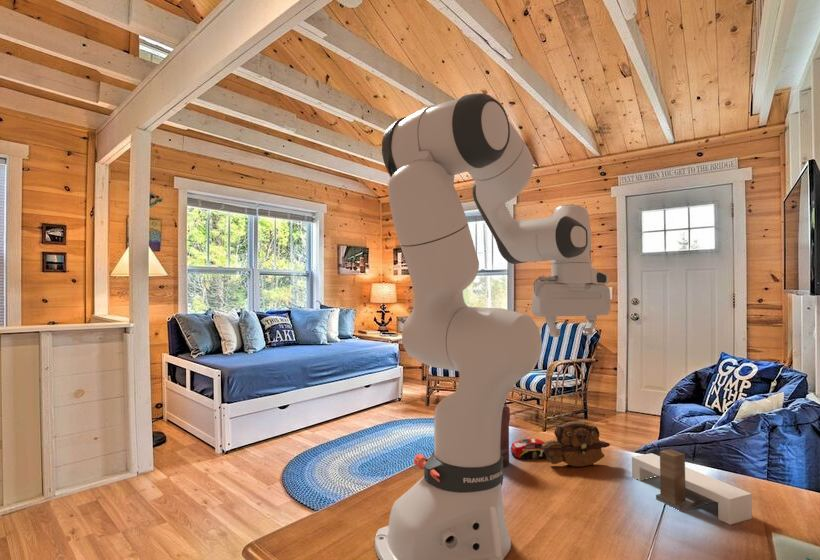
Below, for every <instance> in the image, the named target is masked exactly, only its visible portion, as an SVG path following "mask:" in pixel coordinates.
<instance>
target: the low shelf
mask: <svg viewBox="0 0 820 560" xmlns="http://www.w3.org/2000/svg"><path fill="white" fill-rule="evenodd" d="M631 474H632V475H631V478H633V477H634V478H633V479H635V478H636V479H635V480H637V479H638V480H637V481H639V480H641V481H643V480H642V479H646V478H650V477H654V476H660V455H657V454H654V453H652V452H650V453H645V454H640V455H635V456H631ZM646 480H647V479H646ZM685 488H687V489H689V490H691V491H694V492H696V493H698V494H700V495H702V496H705V497H707V498H709V499H711V500H714V501H715V502H716V503H717V507H718V510H717V511H718V517H717V518H718V520H719V521H721V522H722V523H723V522H724V523H726V524H728V525H735V524H738V523H741V522H744V521H748V520H752V519H753V514H752V513H753V509H752V508H753V505H752V502H753V501H752V499H753V498H752V493H751V492H748V491H747V490H743V489H741V488H739V487H736V486H734V485H731V484H729V483H726V482H724V481H721V480H719V479H717V478H714V477H712V476H709V475H707V474H704V473H701V472H699V471H697V470H694V469H692V468H689V467H687V466H685Z"/></svg>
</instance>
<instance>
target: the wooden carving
mask: <svg viewBox="0 0 820 560" xmlns="http://www.w3.org/2000/svg"><path fill="white" fill-rule="evenodd" d="M598 428H599V427H597V426H595V425H593V424H586V423H583V422H582V421H576V420H575V421H568V422H564V423H563V424H562V425H559V424H557V425H556V426H555V428H554V432H553V433H554V436H555V437H556V440H549V441H545V442H546V443H544V444H543V445H542V449H543V450H544V453H545V454H546V458H545V459H546V461H547V463H549V464H550V463H551V464H552V465H557V464H560V463H562V462H563V463H565V464H567V465H569V466H572V467H587V466H590V465H591V466H592V465H593V464H595V463H597V462H599V461H600V460H602V459H603V458H604V457H605V456H606V455H605V454H604V453H603V451H602V448H604V449H605V448H608V447H610V446H611V443H609V442H606V441H605V440H604V441H603V440H600V430H599V429H598Z"/></svg>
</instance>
